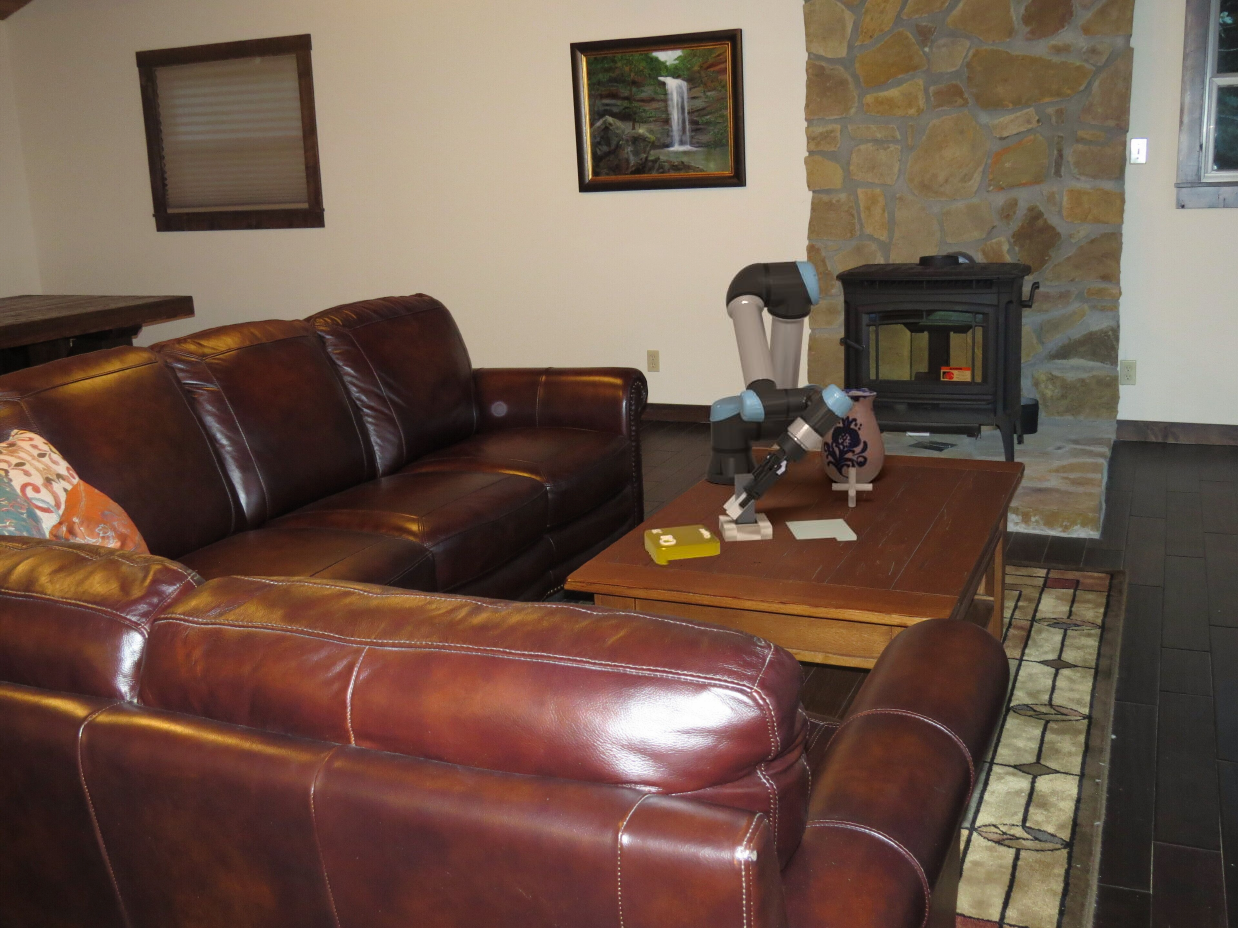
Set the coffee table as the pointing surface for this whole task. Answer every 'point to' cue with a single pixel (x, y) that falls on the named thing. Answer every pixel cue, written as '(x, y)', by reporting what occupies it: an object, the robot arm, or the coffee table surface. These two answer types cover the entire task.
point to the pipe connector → (852, 487)
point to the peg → (740, 485)
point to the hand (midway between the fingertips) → (729, 512)
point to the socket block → (745, 528)
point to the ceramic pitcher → (854, 441)
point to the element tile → (680, 543)
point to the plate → (822, 529)
